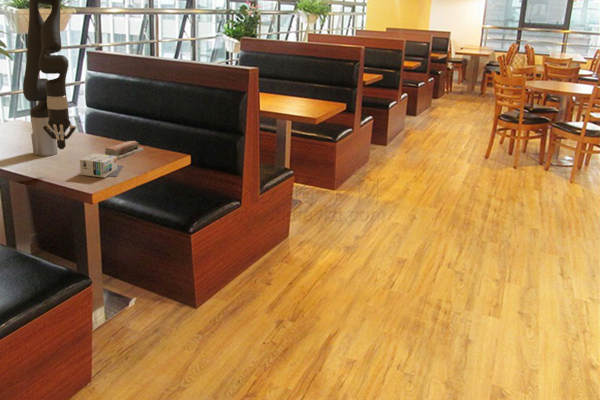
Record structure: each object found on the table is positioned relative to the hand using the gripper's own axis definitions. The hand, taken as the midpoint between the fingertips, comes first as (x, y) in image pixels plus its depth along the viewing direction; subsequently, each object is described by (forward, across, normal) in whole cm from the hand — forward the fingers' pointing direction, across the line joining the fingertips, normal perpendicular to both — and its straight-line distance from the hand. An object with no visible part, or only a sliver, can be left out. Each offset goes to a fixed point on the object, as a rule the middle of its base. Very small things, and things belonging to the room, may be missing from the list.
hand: (61, 148), depth 228 cm
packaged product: (+10, +18, +28) cm, 35 cm away
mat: (+9, +16, +1) cm, 19 cm away
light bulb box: (+6, +10, -1) cm, 11 cm away
